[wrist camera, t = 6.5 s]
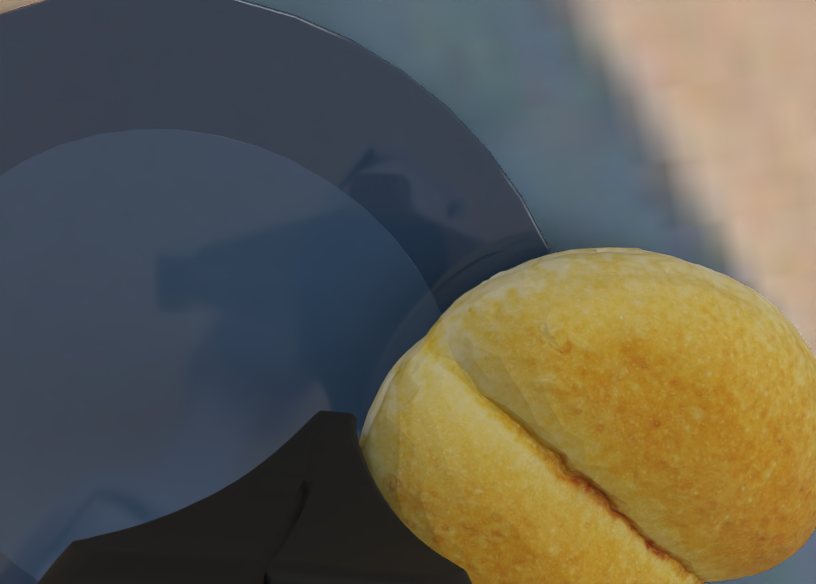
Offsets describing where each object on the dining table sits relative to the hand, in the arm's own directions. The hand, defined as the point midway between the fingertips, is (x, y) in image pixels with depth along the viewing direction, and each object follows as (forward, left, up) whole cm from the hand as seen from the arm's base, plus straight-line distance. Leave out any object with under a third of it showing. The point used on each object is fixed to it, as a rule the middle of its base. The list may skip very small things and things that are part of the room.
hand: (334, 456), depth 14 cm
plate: (0, +3, -2) cm, 4 cm away
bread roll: (0, -5, -2) cm, 5 cm away
